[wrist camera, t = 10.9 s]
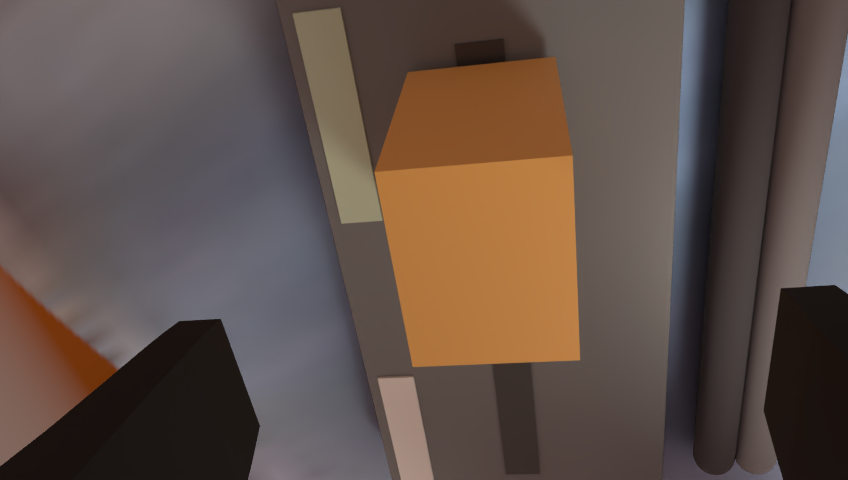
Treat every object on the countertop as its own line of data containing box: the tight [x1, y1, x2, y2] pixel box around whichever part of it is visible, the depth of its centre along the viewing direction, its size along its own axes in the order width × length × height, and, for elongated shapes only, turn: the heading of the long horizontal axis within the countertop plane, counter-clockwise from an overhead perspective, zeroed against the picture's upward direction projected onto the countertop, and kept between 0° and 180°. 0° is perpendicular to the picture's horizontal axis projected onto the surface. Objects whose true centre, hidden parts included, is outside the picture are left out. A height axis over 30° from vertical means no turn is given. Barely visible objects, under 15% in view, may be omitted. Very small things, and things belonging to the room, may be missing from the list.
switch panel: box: [276, 0, 685, 480], centre depth 19 cm, size 16×8×2 cm, turn 8°
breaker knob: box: [374, 57, 580, 367], centre depth 14 cm, size 4×3×4 cm
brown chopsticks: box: [693, 0, 848, 475], centre depth 18 cm, size 16×2×1 cm, turn 8°
